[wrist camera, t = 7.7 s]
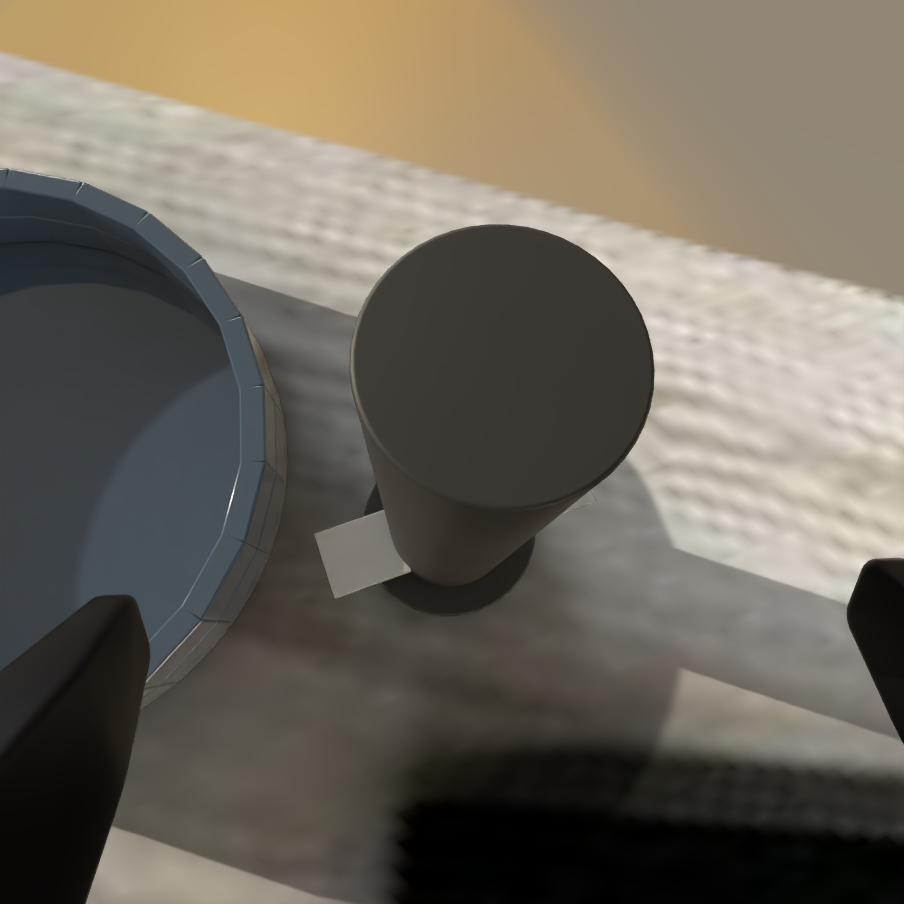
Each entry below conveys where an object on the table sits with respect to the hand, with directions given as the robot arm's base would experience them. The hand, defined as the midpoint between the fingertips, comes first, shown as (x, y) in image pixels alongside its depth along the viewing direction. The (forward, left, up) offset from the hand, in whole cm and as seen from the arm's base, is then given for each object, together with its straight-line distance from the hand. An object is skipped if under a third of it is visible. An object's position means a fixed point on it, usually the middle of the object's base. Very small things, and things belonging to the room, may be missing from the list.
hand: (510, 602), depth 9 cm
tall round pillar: (+1, -2, -10) cm, 10 cm away
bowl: (+12, +2, -10) cm, 16 cm away
